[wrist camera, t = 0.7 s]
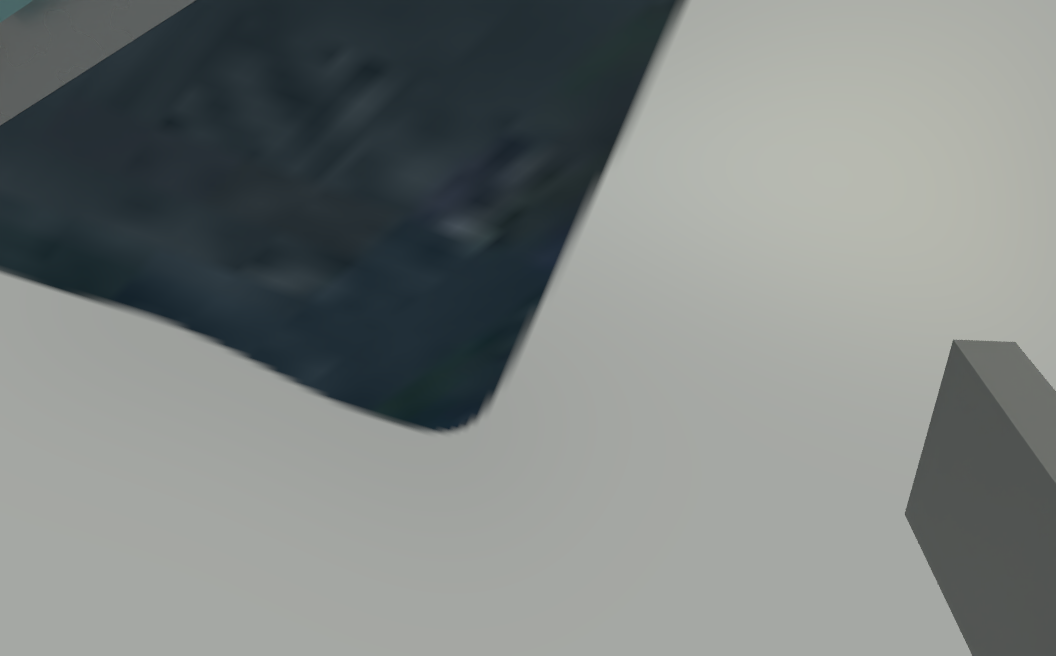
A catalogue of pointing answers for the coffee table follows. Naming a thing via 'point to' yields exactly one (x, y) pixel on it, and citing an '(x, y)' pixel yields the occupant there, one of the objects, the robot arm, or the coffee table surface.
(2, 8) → the block
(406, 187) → the coffee table surface
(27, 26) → the panel
